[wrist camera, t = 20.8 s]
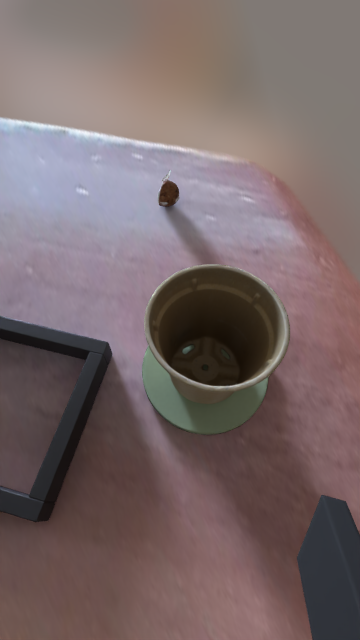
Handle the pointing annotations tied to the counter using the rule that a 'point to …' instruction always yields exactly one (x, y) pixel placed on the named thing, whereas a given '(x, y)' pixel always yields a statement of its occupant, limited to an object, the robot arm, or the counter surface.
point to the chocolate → (168, 193)
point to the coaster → (197, 414)
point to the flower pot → (216, 331)
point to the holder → (72, 421)
